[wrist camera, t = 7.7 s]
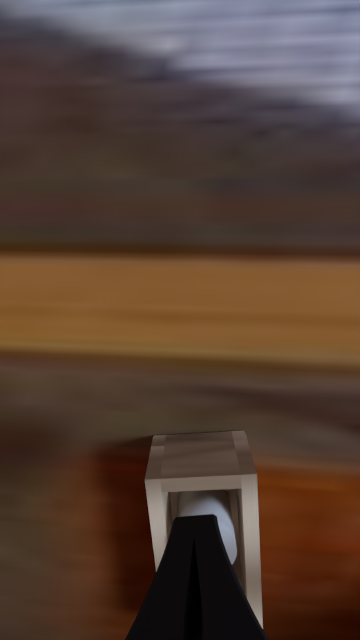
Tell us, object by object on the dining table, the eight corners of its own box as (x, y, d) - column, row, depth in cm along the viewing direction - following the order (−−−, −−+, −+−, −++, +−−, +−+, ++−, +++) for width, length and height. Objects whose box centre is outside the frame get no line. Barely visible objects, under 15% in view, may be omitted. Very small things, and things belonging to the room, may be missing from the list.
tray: (153, 435, 18) (143, 487, 14) (244, 430, 18) (259, 481, 14) (172, 605, 21) (168, 688, 17) (252, 602, 21) (266, 685, 17)
